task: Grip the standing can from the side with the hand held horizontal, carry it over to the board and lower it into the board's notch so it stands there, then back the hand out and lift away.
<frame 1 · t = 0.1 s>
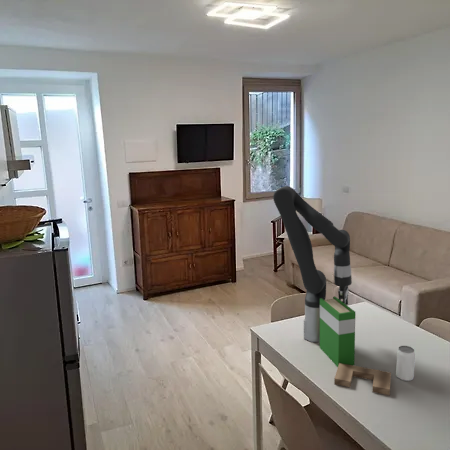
hand: (344, 307, 187), 17 cm above the table, tool pointing down, fingers open, 8 cm apart
can: (404, 377, 162), on the table
hardback book: (336, 356, 179), on the table, touching hand
notched board: (362, 381, 160), on the table
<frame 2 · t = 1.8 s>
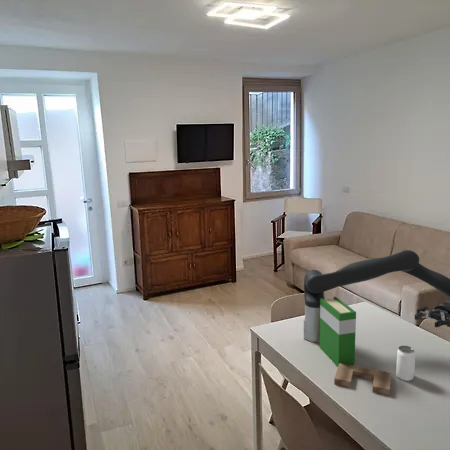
hand: (425, 321, 163), 21 cm above the table, tool horizontal, fingers open, 8 cm apart
hardback book: (336, 356, 179), on the table
everything else where it was.
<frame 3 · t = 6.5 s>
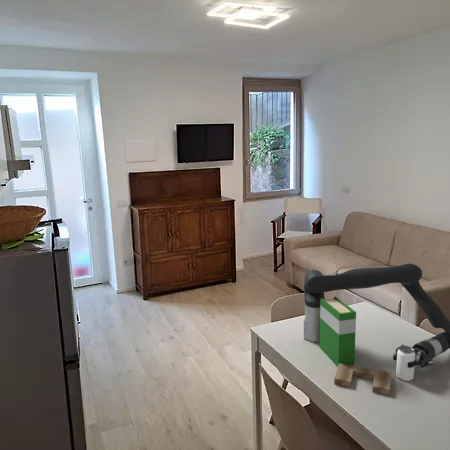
hand: (401, 361, 159), 7 cm above the table, tool horizontal, fingers closed on can, 6 cm apart
can: (404, 377, 162), on the table, touching gripper
everything else where it was.
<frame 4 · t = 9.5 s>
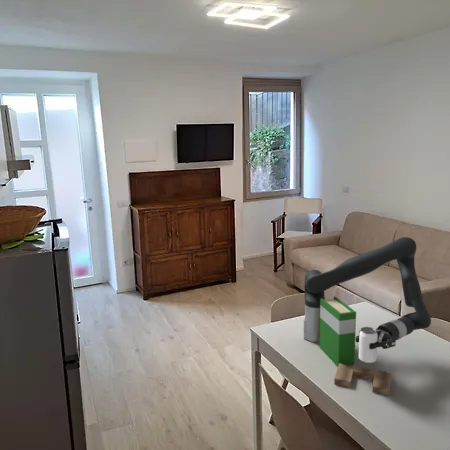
hand: (363, 343, 154), 18 cm above the table, tool horizontal, fingers closed on can, 6 cm apart
can: (367, 359, 156), point 10 cm above the table, touching gripper
everything else where it was.
when the fingers open (8 cm above the table, at t = 12.4 s): can drops 1 cm, on the table.
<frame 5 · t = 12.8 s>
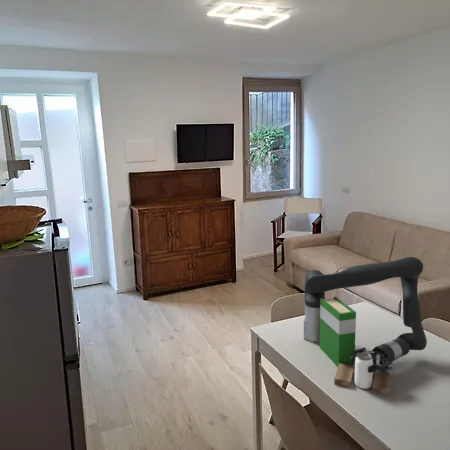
hand: (359, 365, 155), 9 cm above the table, tool horizontal, fingers open, 8 cm apart
can: (363, 384, 158), on the table
everything else where it was.
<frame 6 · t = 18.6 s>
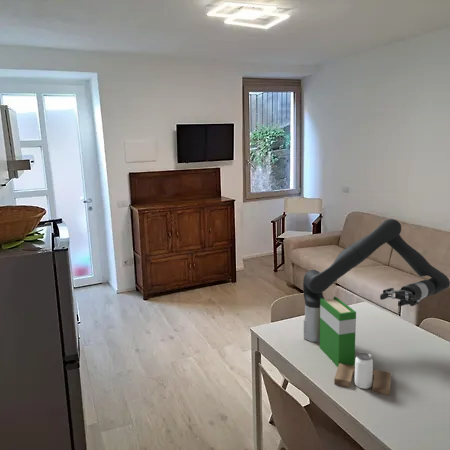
hand: (389, 300, 167), 28 cm above the table, tool horizontal, fingers open, 8 cm apart
nothing on the table moved.
at the end: can 0.4 cm from the target spot on the notched board, point 0.0 cm above the notched board's base; can tilted 0°; the gripper is holding nothing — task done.
